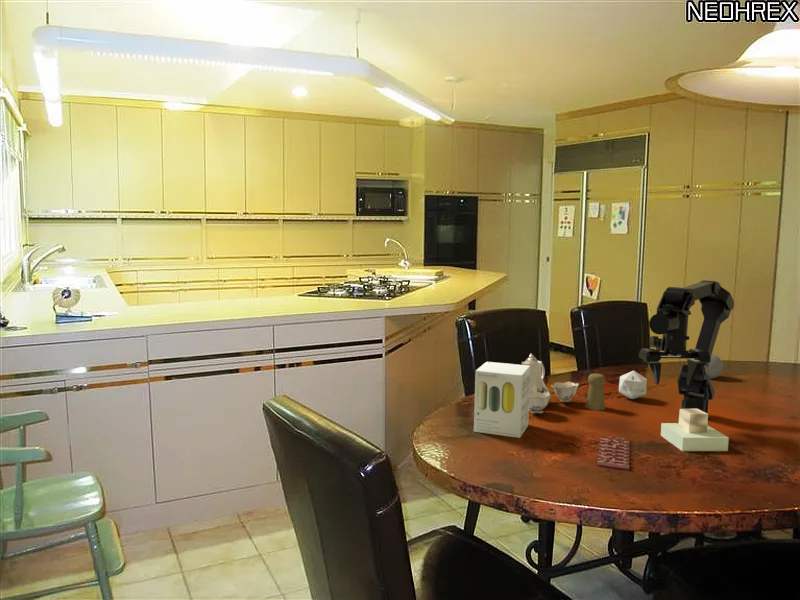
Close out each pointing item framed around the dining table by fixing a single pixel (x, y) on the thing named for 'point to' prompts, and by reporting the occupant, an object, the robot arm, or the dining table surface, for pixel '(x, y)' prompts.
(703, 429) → the birch cube
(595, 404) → the cork
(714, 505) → the dining table surface
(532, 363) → the chinaware
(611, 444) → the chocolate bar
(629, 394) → the die
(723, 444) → the sage block
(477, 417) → the supplement box
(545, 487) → the dining table surface
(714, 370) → the decorative ball
